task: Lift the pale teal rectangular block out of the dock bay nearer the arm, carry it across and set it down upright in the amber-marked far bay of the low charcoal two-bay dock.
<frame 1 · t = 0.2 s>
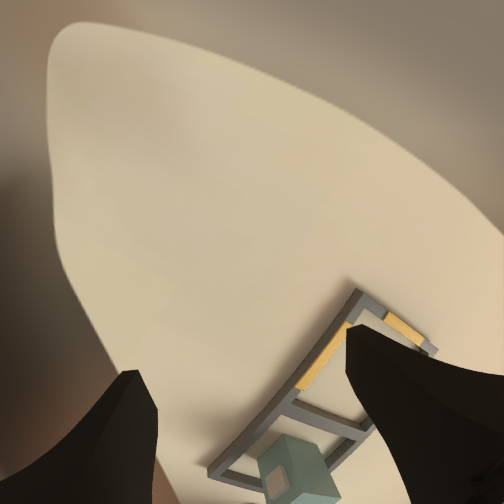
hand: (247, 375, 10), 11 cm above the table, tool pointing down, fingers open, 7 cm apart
dock: (323, 416, 23), on the table
pale teal rectangular block: (287, 453, 23), resting in dock
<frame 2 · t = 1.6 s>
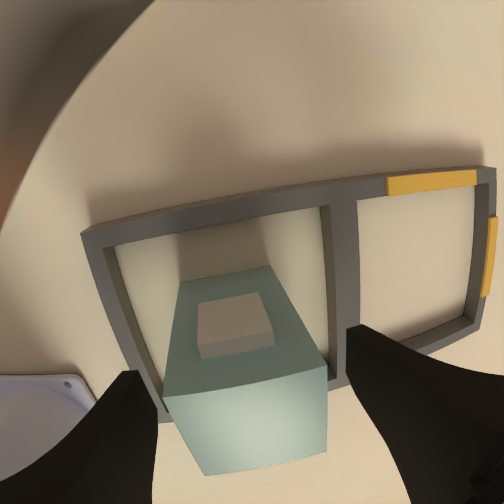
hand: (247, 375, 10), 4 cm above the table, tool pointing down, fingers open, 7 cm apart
dock: (338, 291, 14), on the table
pale teal rectangular block: (233, 314, 14), resting in dock
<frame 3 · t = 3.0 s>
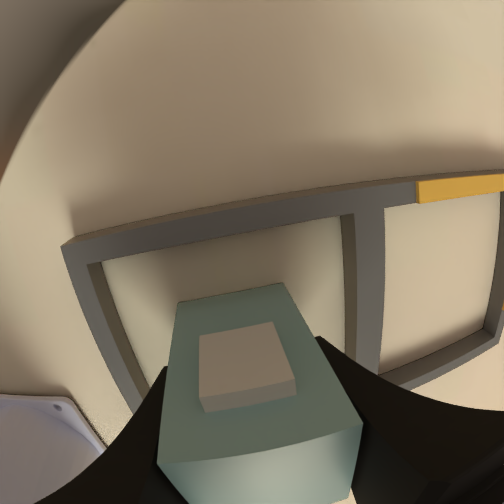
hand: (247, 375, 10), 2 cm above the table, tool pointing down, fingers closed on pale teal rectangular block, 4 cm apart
dock: (357, 309, 12), on the table
pale teal rectangular block: (239, 337, 12), resting in dock, touching gripper
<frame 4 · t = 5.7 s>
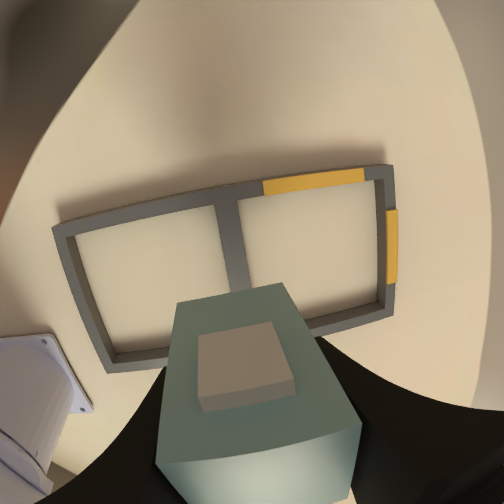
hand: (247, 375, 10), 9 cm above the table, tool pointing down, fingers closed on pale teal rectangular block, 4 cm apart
dock: (237, 272, 19), on the table
pale teal rectangular block: (238, 336, 12), point 7 cm above the table, touching gripper
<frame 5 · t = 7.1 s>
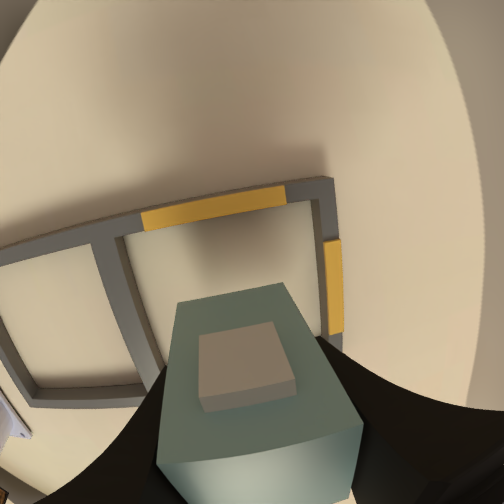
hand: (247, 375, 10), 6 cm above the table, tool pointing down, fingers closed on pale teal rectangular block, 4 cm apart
dock: (135, 317, 15), on the table
pale teal rectangular block: (239, 336, 12), point 3 cm above the table, touching gripper
when the fingers open (3 cm above the table, at t = 8.5 s): pale teal rectangular block drops 1 cm, resting in dock.
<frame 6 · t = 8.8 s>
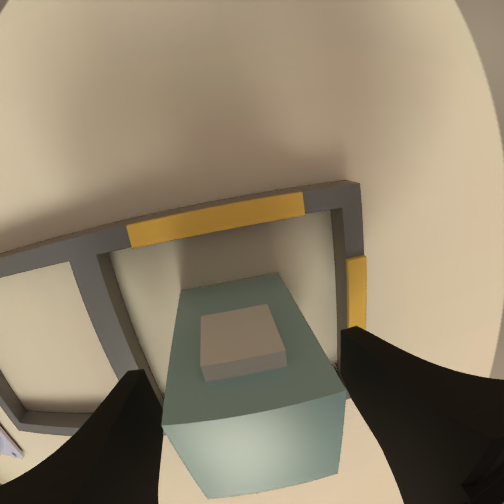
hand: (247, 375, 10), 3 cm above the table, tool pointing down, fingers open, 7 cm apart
dock: (126, 342, 12), on the table
pale teal rectangular block: (237, 323, 13), resting in dock
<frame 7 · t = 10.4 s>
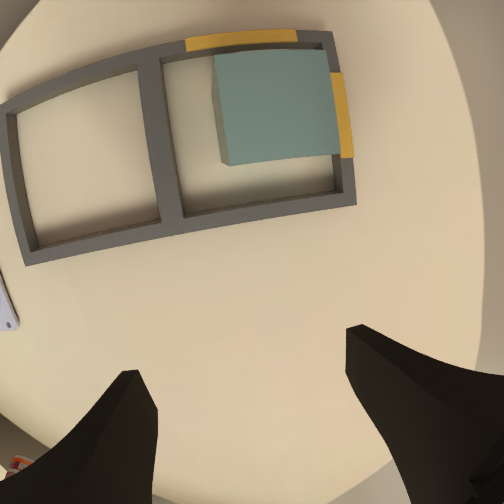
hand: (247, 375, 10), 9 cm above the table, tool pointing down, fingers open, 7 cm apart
pill bottle: (34, 466, 23), on the table
dock: (161, 138, 16), on the table
pale teal rectangular block: (252, 123, 16), resting in dock
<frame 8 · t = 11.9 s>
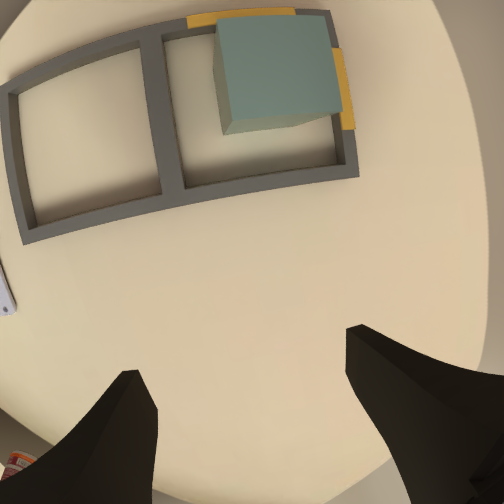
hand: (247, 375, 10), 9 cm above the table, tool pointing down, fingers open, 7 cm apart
pill bottle: (33, 461, 23), on the table
dock: (162, 113, 15), on the table
pale teal rectangular block: (253, 97, 16), resting in dock
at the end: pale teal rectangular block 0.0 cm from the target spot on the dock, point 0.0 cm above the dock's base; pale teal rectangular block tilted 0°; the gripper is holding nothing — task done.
